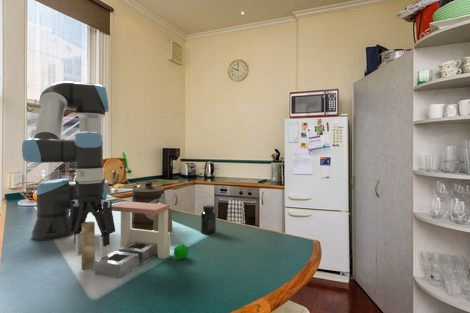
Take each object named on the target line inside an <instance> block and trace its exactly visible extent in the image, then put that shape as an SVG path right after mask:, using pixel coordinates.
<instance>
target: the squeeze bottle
mask: <svg viewBox="0 0 470 313" xmlns="http://www.w3.org/2000/svg"><path fill="white" fill-rule="evenodd" d="M157 204H166V205H169V206H170V204H169V202H167V199H166V194H165V193H164V194H162V196H161V200H160V202H159V203H157ZM173 229H174V228H173V218H172V209H171V208H170V207H169V209H168V232H169V233H170V235H171V234H172V231H173ZM153 230H154V231H158V214H156V215H154V223H153Z"/></svg>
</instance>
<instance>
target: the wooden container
mask: <svg viewBox="0 0 470 313" xmlns="http://www.w3.org/2000/svg"><path fill="white" fill-rule="evenodd" d="M131 193H132V195H131V196H132V197H131V202H141V203H153V204H157V203H159V202H160V200H161V196H162V194H165V188H164V187H161V186H160V187H159V186H153V181H152V180H146V181H145V182H144V186H141V187H135V188H133V189H132V191H131ZM153 223H154V215H153V214H142V213H132V212H131V228H133V229H142V230H151V231H152V230H153Z"/></svg>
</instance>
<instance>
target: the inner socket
mask: <svg viewBox="0 0 470 313" xmlns="http://www.w3.org/2000/svg"><path fill="white" fill-rule="evenodd" d="M118 251H120V252H127V253H135V254H139V263H142V264H141V265H143V263H144V262H145V263H146V261H147V260H148V261H150V260H151V259H153V258H154V257H156V256H158V255H157V243H149V242H141V241H133V242H131V243H129V244H127V245H125V246H123V247H122V248H121V247H119V248H118ZM155 255H156V256H155ZM153 256H154V257H153ZM152 257H153V258H152ZM150 258H151V259H150ZM149 259H150V260H149ZM148 261H147V262H148ZM145 263H144V264H145Z"/></svg>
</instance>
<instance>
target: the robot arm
mask: <svg viewBox="0 0 470 313" xmlns="http://www.w3.org/2000/svg"><path fill="white" fill-rule="evenodd" d="M108 99H109V97H108V93H107V88H106V87H105V86H104V85H101V84H96V83H90V82H89V83H86V82H78V81H77V82H76V81H69V80H65V81H59V82H55V83H53V84H51V85H49V86H47V87H46V89H44V90H43V92H41V94H40V97H39V100H38V102H39V106H40V108H39V113H38V117H37V121H36V125H35V131H34V133H33V134H34V135H33V137H31V138H25V139H24V140H23V141H22V145H21V155H22V160H23V161H24V162H27V163H37V164H40V163H47V164H48V163H75V174H76V175H75V178H74V179H75V180H74V181H71V180H70V178H67V177H65V178H55V179H49V180H46V181H42V182H40V183H38V184H37V186H36V194H35V195H36V219H35V223H34V224H33V225H34V226H33V229H32V230H31V239H32V240H35V241H53V240H60V239H63V238H68V237H70V236H72V235H73V239H74V240H73V241H74V244H75V255H76V257H77V256H82V223H83V222H87V221H86V220H87V218H88V214H89V213H91V215H92V216H93V217H94V219H95V221H96V224H97V226H98V229H99V232H100V234H101V235H99V259H100V258H103V257H105V256H107V255H108V254H109V245H110V242H111V241H110V238H111V237H110V236H111V234H113V233H115V232H116V226H115V221H114V216H113V211H112V209H111V207H112V205H113V203H112V202H113V201H112V200H107V197H108V187H109V181H108V180H106V179H105V176H104V165H103V164H104V163H103V159H104V158H103V154H104V152H103V144H104V143H103V142H104V141H103V135H102V120H103V119H104V118H105V116H106V113H108V112H109V111H110V110H109V109H110V108H109V100H108ZM67 110H73V111H75V115H76V116H77V118H78V120H79V122H78V123H79V127H78V128H79V131H78V132H76V133H75V136H74V138H75V139H61V136H62V129H63V128H62V127H63V119H64V113H65V111H67Z"/></svg>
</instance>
